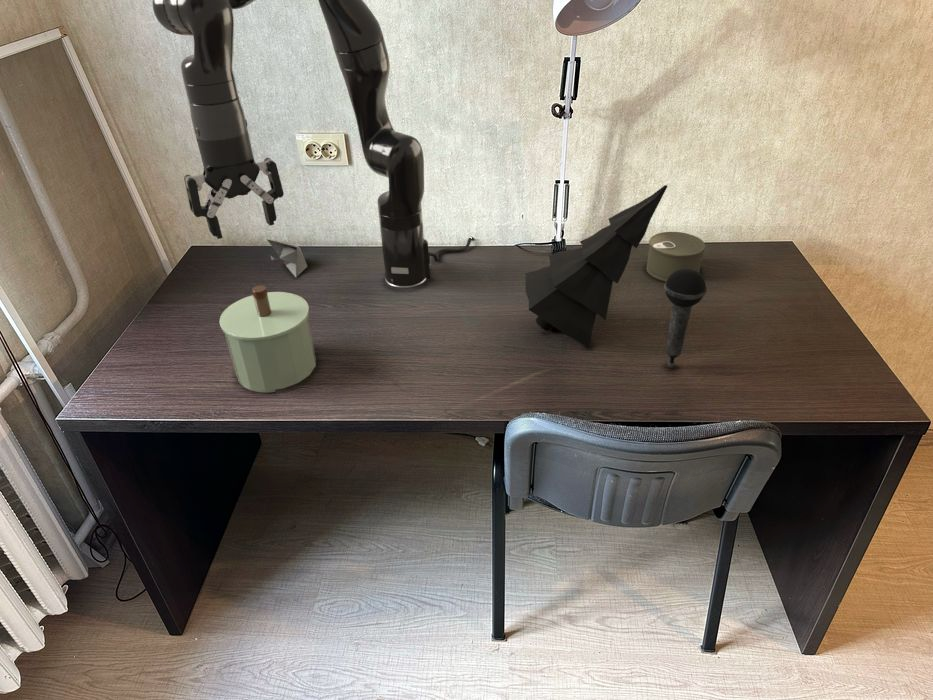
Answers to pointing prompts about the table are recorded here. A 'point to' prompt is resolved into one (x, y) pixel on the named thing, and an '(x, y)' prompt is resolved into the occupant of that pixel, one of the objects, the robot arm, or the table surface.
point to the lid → (264, 315)
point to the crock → (273, 359)
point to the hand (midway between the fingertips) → (244, 230)
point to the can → (673, 253)
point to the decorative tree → (587, 273)
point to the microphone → (681, 306)
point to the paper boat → (289, 256)
